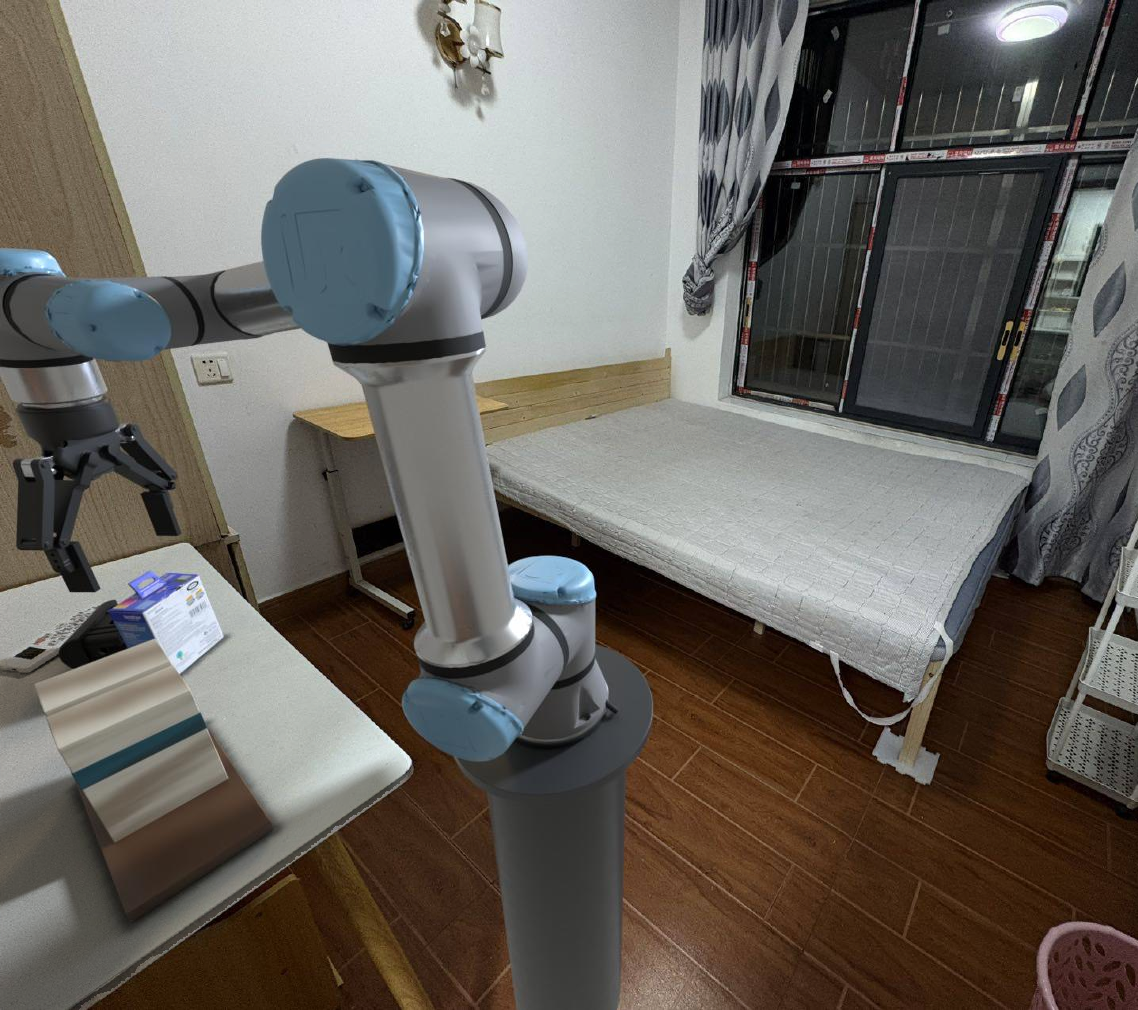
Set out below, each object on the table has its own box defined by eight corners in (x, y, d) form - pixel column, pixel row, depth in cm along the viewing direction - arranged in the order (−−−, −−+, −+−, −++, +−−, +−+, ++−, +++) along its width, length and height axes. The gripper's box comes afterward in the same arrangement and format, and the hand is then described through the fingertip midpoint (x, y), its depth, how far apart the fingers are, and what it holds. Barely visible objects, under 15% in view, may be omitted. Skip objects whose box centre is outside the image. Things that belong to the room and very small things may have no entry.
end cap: (107, 636, 87) (89, 601, 84) (162, 628, 90) (147, 594, 87) (69, 679, 79) (49, 642, 76) (131, 670, 81) (113, 633, 78)
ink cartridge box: (192, 634, 89) (161, 558, 83) (226, 636, 89) (197, 560, 83) (137, 677, 80) (97, 596, 74) (174, 680, 80) (138, 598, 74)
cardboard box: (274, 829, 61) (234, 729, 54) (131, 923, 52) (63, 817, 46) (204, 724, 73) (164, 632, 67) (79, 786, 64) (18, 687, 58)
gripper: (116, 373, 72) (169, 515, 81) (-107, 433, 50) (1, 620, 59) (178, 376, 73) (224, 516, 82) (-14, 436, 51) (78, 620, 60)
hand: (131, 560), depth 71 cm, fingers open, 13 cm apart
